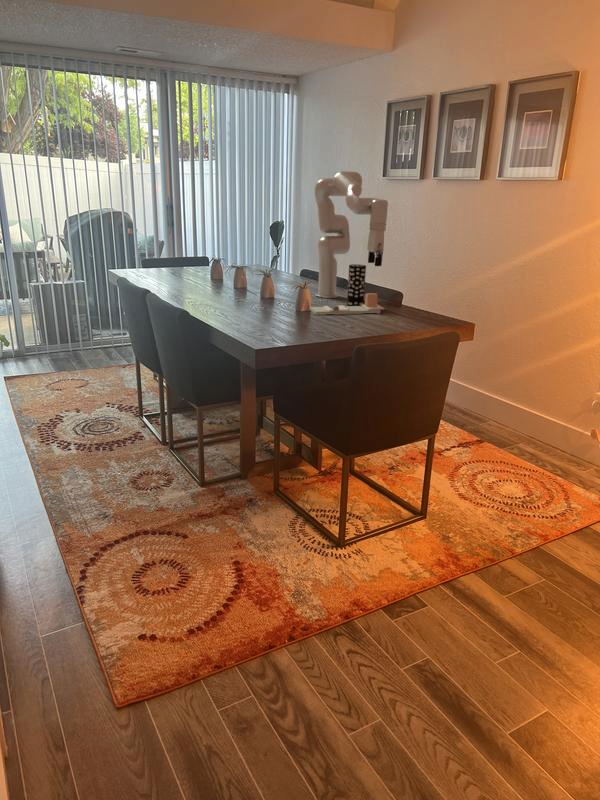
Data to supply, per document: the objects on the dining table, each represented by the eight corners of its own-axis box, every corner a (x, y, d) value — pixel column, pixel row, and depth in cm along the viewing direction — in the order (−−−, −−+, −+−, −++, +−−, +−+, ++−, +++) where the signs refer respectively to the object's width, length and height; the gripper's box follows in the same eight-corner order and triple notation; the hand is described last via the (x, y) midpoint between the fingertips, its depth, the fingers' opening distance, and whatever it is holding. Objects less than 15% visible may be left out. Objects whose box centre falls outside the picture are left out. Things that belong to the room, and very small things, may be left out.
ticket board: (309, 310, 289) (309, 302, 288) (371, 308, 297) (372, 301, 296) (316, 315, 278) (316, 307, 277) (380, 313, 286) (381, 305, 285)
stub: (361, 305, 294) (362, 292, 292) (376, 305, 296) (377, 291, 294) (368, 309, 285) (369, 295, 283) (384, 309, 287) (385, 295, 285)
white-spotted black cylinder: (347, 307, 299) (349, 266, 292) (346, 303, 307) (348, 264, 300) (364, 307, 299) (366, 266, 292) (362, 304, 307) (365, 264, 300)
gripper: (364, 225, 287) (361, 261, 293) (376, 229, 271) (373, 267, 278) (378, 225, 289) (375, 261, 295) (391, 229, 273) (388, 267, 279)
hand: (374, 264), depth 286 cm, fingers open, 9 cm apart
